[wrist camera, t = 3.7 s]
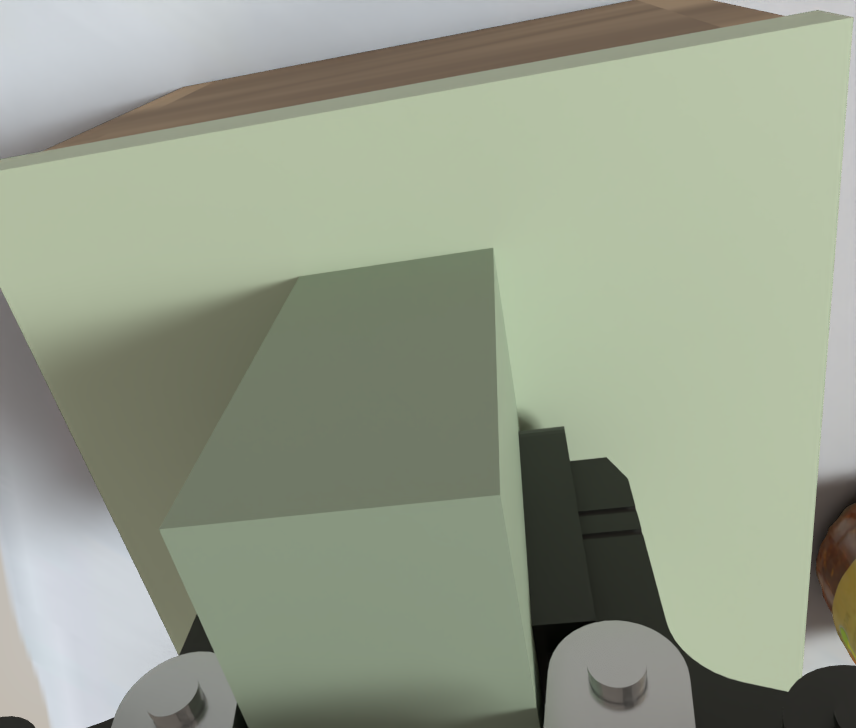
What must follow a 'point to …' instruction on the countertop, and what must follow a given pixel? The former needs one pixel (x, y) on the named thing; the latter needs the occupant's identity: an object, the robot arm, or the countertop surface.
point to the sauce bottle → (840, 576)
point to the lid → (451, 358)
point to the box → (425, 62)
